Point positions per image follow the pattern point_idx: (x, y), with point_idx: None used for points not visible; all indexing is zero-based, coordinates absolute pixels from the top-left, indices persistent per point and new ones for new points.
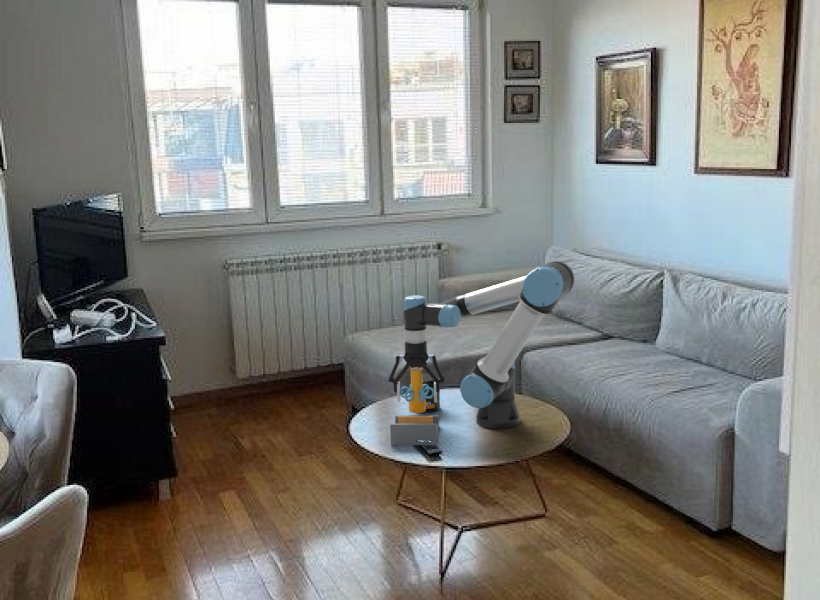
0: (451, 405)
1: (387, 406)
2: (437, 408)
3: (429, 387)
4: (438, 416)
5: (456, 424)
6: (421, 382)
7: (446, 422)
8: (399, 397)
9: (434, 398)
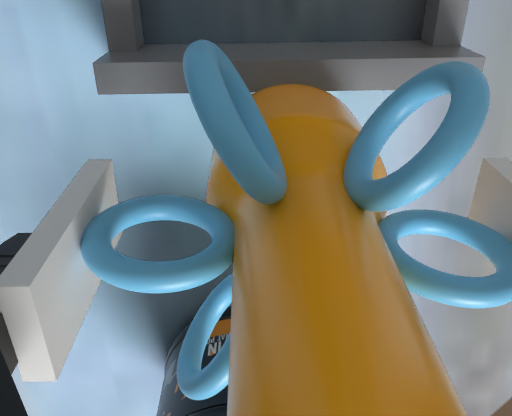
0: (116, 401)
1: (458, 383)
2: (175, 339)
3: (129, 276)
4: (93, 63)
5: (4, 115)
6: (243, 316)
7: (85, 152)
8: (509, 181)
9: (95, 176)
